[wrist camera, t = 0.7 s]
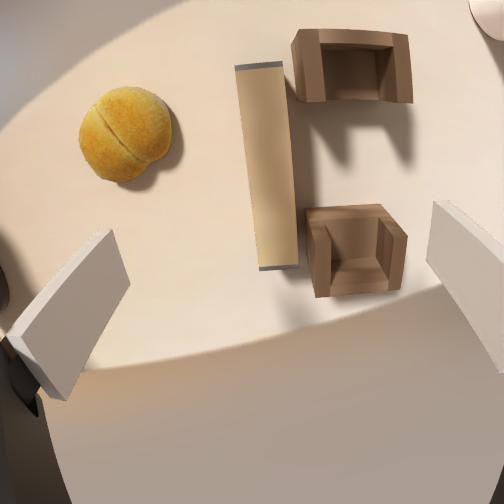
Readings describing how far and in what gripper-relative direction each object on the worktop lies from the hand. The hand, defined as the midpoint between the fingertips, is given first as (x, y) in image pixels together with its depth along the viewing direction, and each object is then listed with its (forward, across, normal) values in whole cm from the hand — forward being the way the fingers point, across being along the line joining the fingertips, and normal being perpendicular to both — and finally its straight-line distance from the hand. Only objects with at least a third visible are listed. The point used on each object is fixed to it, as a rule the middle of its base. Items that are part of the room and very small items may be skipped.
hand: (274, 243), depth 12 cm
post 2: (+17, +6, -8) cm, 20 cm away
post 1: (+17, +6, +7) cm, 19 cm away
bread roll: (+17, -13, +4) cm, 22 cm away
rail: (+17, 0, 0) cm, 17 cm away
